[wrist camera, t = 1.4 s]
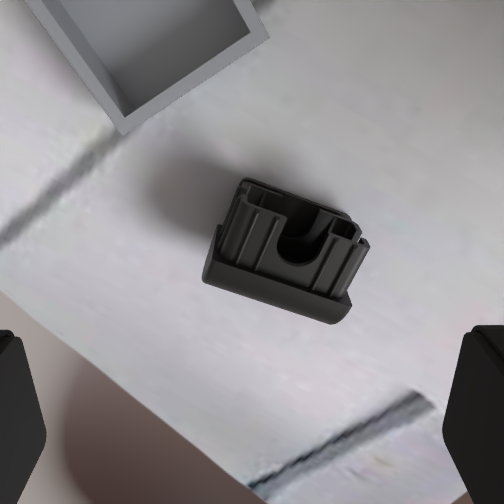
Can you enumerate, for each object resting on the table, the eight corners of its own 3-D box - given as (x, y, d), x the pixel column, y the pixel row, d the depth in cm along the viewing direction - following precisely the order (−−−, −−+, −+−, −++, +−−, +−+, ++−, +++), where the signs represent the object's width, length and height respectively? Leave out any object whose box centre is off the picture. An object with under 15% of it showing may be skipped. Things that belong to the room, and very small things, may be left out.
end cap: (205, 254, 37) (196, 298, 30) (236, 172, 34) (233, 203, 28) (320, 293, 38) (333, 342, 32) (359, 218, 35) (381, 257, 29)
